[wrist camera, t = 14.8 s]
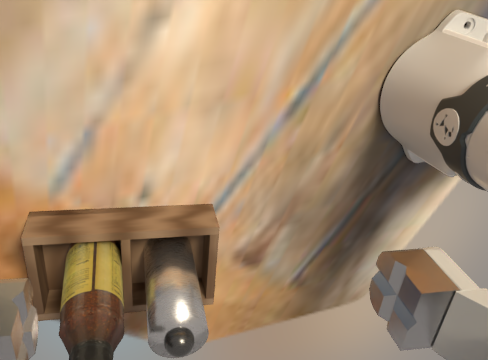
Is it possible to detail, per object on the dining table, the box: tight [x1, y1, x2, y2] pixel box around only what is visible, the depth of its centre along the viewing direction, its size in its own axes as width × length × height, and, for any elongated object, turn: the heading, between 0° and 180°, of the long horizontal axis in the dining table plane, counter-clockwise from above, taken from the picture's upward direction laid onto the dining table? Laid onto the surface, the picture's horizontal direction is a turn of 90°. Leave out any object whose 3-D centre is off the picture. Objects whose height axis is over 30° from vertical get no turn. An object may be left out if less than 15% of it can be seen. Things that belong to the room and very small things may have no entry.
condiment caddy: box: [21, 204, 219, 321], centre depth 55 cm, size 21×12×5 cm, turn 85°
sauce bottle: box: [59, 241, 124, 360], centre depth 46 cm, size 7×6×20 cm
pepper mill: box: [144, 236, 208, 358], centre depth 50 cm, size 6×6×16 cm
